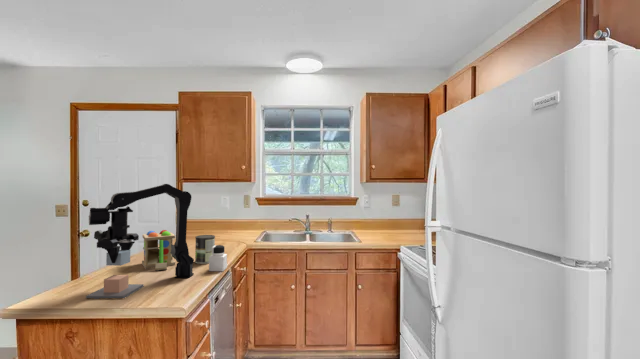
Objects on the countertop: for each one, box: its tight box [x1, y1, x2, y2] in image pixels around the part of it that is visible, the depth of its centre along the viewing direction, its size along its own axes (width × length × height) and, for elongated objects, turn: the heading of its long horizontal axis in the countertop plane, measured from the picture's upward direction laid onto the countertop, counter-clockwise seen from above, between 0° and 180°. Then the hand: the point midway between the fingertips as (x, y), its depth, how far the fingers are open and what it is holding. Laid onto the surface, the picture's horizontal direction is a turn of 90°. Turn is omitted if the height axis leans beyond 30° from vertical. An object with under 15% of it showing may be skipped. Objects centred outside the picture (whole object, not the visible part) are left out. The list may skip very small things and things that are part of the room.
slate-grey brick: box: [105, 249, 131, 267], centre depth 132 cm, size 6×6×5 cm
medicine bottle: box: [208, 244, 228, 272], centre depth 161 cm, size 7×7×12 cm
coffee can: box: [194, 234, 216, 265], centre depth 177 cm, size 10×10×14 cm
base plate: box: [85, 283, 145, 300], centre depth 127 cm, size 14×14×1 cm
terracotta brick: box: [103, 274, 130, 292], centre depth 127 cm, size 6×6×5 cm
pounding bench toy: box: [141, 229, 176, 271], centre depth 168 cm, size 23×14×18 cm, turn 35°
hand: (118, 261), depth 132 cm, fingers closed on slate-grey brick, 6 cm apart
